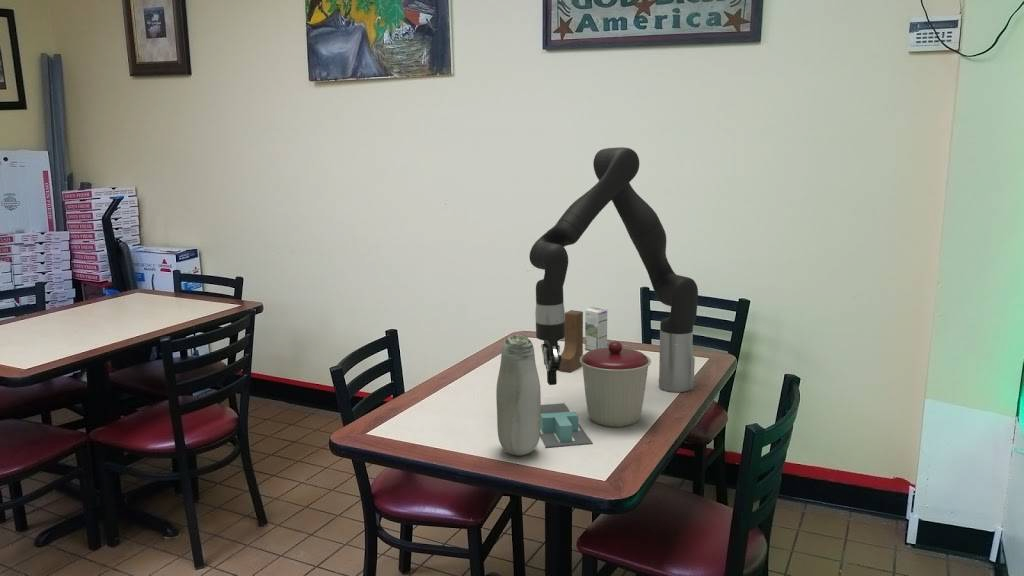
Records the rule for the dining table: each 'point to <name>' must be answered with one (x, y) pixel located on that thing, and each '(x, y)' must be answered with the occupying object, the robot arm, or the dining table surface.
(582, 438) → the mat
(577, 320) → the wooden block
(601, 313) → the syrup box
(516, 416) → the glass bottle
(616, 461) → the dining table surface
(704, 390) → the dining table surface
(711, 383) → the dining table surface
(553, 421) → the t block
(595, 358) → the canister
